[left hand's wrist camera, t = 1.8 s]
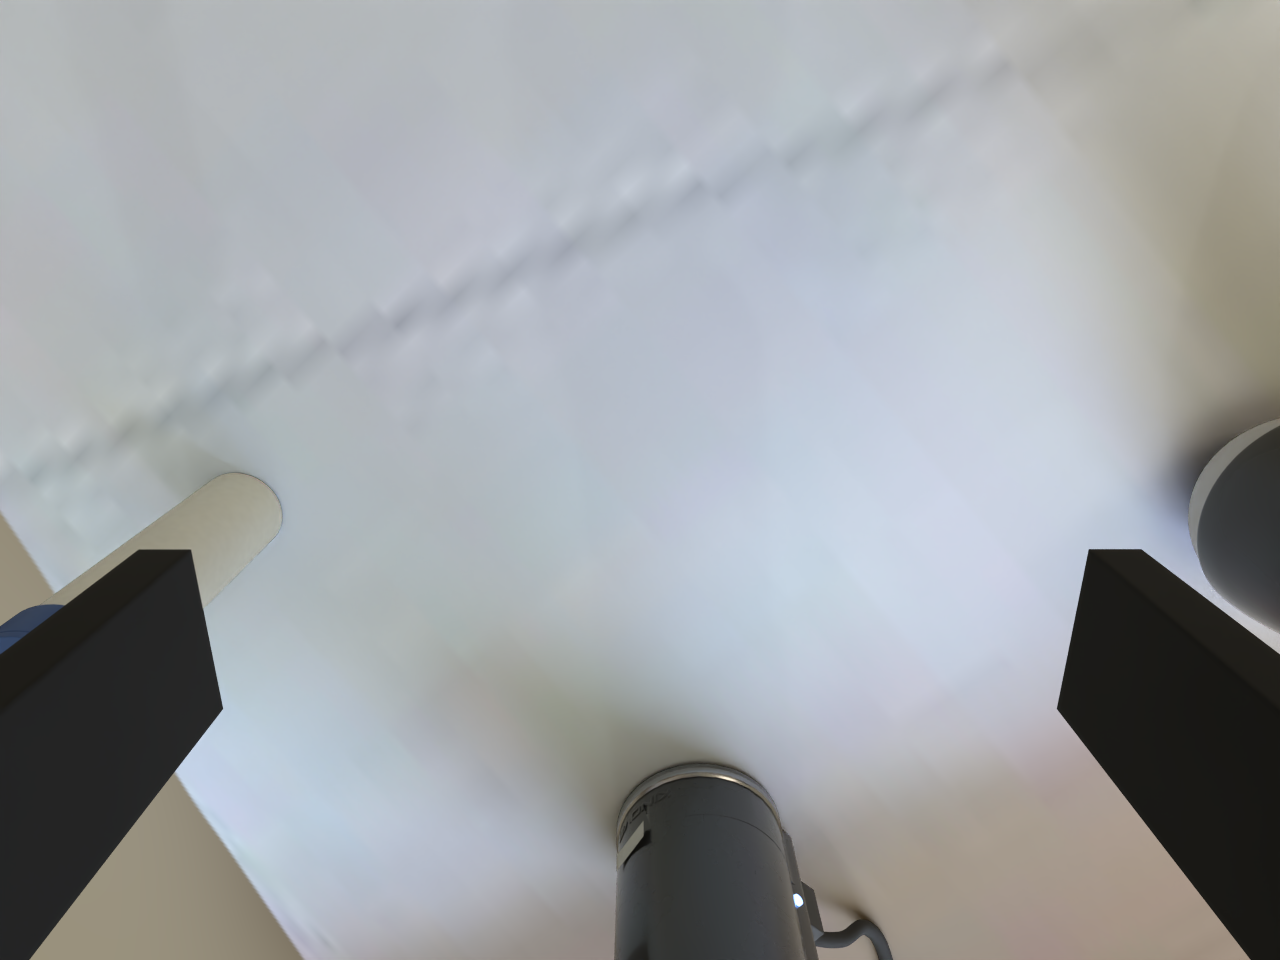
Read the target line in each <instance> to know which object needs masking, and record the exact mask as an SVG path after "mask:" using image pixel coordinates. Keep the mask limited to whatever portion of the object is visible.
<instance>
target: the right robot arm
mask: <svg viewBox="0 0 1280 960" xmlns="http://www.w3.org/2000/svg"><path fill="white" fill-rule="evenodd" d="M616 842H617V852H618V855H617V868H616V871H617V890H616V921H615V952H614V960H819V959H818V955H817V950H816V946H818V947H824V948H843V947H846V946H849V945H850V944H852V943H853V942H854V941H856V940H857V939H858V938H859V937H860V936H862V935H866V936H867V937H869V938H870V939H871V941H872V943H873V944H874V946H875V949H876V951H877V954H878V957H879V960H893V958H892V955H891V952H890V949H889V946H888V943H887V941H886V939H885V937H884V935H883V934H882V933H881V931H880V930H879V929H878V928H877V927H876V926H875V925H874V924H873V923H871V922H870V921H867V920H857V921H855V922H854V923H852V924H851V925H850V926H849V927H847V928H846V929H845V930H843V931H840V932H824V931H823V927H822V922H821V918H820V914H819V910H818V906H817V902H816V897H815V893H814V890H813V889H812V888H810V887H809V886H807V885H806V884H804V883H803V882H802V881H801V880H800V875H799V871H798V866H797V862H796V857H795V853H794V849H793V844H792V840H791V837H790V836H789V835H787V834H786V833H785V832H783V831H782V828H781V823H780V818H779V814H778V811H777V808H776V806H775V803H774V801H773V800H772V798H771V797H770V795H769V794H768V793H767V791H766V790H765V789H764V788H763V787H762V786H761V785H760V784H758V783H757V782H756V781H755V780H753V779H752V778H750V777H749V776H747V775H745V774H743V773H741V772H739V771H736V770H734V769H731V768H728V767H724V766H719V765H713V764H689V765H682V766H677V767H673V768H670V769H667V770H664V771H662V772H659V773H657V774H655V775H653V776H652V777H650V778H648V779H647V780H645V781H644V782H643V783H641V784H640V785H639V786H638V787H637V788H636V789H635V790H634V791H633V792H632V793H631V794H630V796H629V797H628V798H627V800H626V801H625V803H624V805H623V807H622V809H621V811H620V814H619V818H618V823H617V841H616Z"/></svg>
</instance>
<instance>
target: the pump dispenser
mask: <svg viewBox="0 0 1280 960" xmlns="http://www.w3.org/2000/svg"><path fill="white" fill-rule="evenodd" d="M1188 525H1189V532H1190V537H1191V541H1192V544H1193V547H1194V549H1195V552H1196V554H1197V556H1198V558H1199V561H1200V564H1201V567H1202V570H1203V572H1204V574H1205V576H1206V578H1207V580H1208V582H1209V583H1210V584H1211V586H1212V587H1213V588H1214V590H1215V591H1216V592H1217V593H1218V594H1219V595H1220V596H1221V597H1222V598H1223V599H1225V600H1226V601H1227V602H1228V603H1230V604H1231V605H1232V606H1234V607H1235V608H1236V609H1238V610H1239V611H1241V612H1242V613H1244V614H1245V615H1247V616H1248V617H1250V618H1252V619H1253V620H1255V621H1257V622H1258V623H1260V624H1262V625H1264V626H1266V627H1268V628H1270V629H1272V630H1273V631H1275V632H1277V633H1279V634H1280V418H1278V419H1275V420H1272V421H1268V422H1266V423H1263V424H1260V425H1258V426H1256V427H1254V428H1252V429H1250V430H1248V431H1246V432H1244V433H1242V434H1240V435H1239V436H1237V437H1236V438H1234V439H1233V440H1231V441H1230V442H1229V443H1228V444H1226V445H1225V446H1224V447H1223V448H1222V449H1221V450H1220V451H1218V452H1217V453H1216V454H1215V456H1214V457H1213V458H1212V459H1211V460H1210V461H1209V462H1208V464H1207V465H1206V466H1205V468H1204V469H1203V471H1202V473H1201V474H1200V476H1199V478H1198V480H1197V482H1196V484H1195V487H1194V489H1193V492H1192V495H1191V499H1190V504H1189V512H1188Z"/></svg>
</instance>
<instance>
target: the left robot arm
mask: <svg viewBox="0 0 1280 960" xmlns="http://www.w3.org/2000/svg"><path fill="white" fill-rule="evenodd" d="M222 710H223V706H222V701H221V696H220V691H219V686H218V681H217V676H216V671H215V666H214V661H213V656H212V651H211V646H210V641H209V636H208V631H207V626H206V621H205V616H204V611H203V606H202V601H201V596H200V591H199V586H198V581H197V576H196V571H195V566H194V561H193V556H192V551H191V549H139V550H137V551H136V552H135V553H133V554H132V555H131V556H129V557H128V558H127V559H125V560H124V561H123V562H121V563H120V564H119V565H117V566H116V567H115V568H113V569H112V570H111V571H110V572H108V573H107V574H106V575H104V576H103V577H102V578H100V579H99V580H98V581H96V582H95V583H94V584H92V585H91V586H90V587H88V588H87V589H86V590H84V591H83V592H82V593H81V594H79V595H78V596H77V597H75V598H74V599H73V600H71V601H70V602H69V603H67V604H66V605H65V606H63V607H62V608H61V609H59V610H58V611H57V612H55V613H54V614H53V615H52V616H50V617H49V618H48V619H46V620H45V621H44V622H42V623H41V624H40V625H38V626H37V627H36V628H34V629H33V630H32V631H30V632H29V633H28V634H26V635H25V636H24V637H23V638H21V639H20V640H19V641H17V642H16V643H15V644H13V645H12V646H11V647H9V648H8V649H7V650H5V651H4V652H3V653H1V654H0V960H29V959H30V958H31V957H32V956H33V954H34V953H35V952H36V950H37V949H38V948H39V946H40V945H41V944H42V942H43V941H44V940H45V939H46V937H47V936H48V935H49V934H50V932H51V931H52V930H53V928H54V927H55V926H56V924H57V923H58V922H59V921H60V919H61V918H62V917H63V915H64V914H65V913H66V912H67V910H68V909H69V908H70V906H71V905H72V904H73V902H74V901H75V900H76V899H77V897H78V896H79V895H80V893H81V892H82V891H83V889H84V888H85V887H86V886H87V884H88V883H89V882H90V880H91V879H92V878H93V877H94V875H95V874H96V873H97V871H98V870H99V869H100V868H101V866H102V865H103V864H104V862H105V861H106V860H107V858H108V857H109V856H110V855H111V853H112V852H113V851H114V849H115V848H116V847H117V846H118V844H119V843H120V842H121V840H122V839H123V838H124V836H125V835H126V834H127V833H128V831H129V830H130V829H131V827H132V826H133V825H134V823H135V822H136V821H137V820H138V818H139V817H140V816H141V814H142V813H143V812H144V811H145V809H146V808H147V807H148V805H149V804H150V803H151V801H152V800H153V799H154V798H155V796H156V795H157V794H158V792H159V791H160V790H161V789H162V787H163V786H164V785H165V783H166V782H167V781H168V779H169V778H170V777H171V776H172V774H173V773H174V772H175V770H176V769H177V768H178V767H179V765H180V764H181V763H182V761H183V760H184V759H185V757H186V756H187V755H188V754H189V752H190V751H191V750H192V748H193V747H194V746H195V745H196V743H197V742H198V741H199V739H200V738H201V737H202V735H203V734H204V733H205V732H206V730H207V729H208V728H209V726H210V725H211V724H212V723H213V721H214V720H215V719H216V717H217V716H218V715H219V713H220V712H221V711H222ZM1057 710H1058V711H1059V712H1060V713H1061V715H1062V716H1063V717H1064V719H1065V720H1066V721H1067V723H1068V724H1069V725H1070V726H1071V728H1072V729H1073V730H1074V732H1075V733H1076V734H1077V735H1078V737H1079V738H1080V739H1081V741H1082V742H1083V743H1084V745H1085V746H1086V747H1087V748H1088V750H1089V751H1090V752H1091V754H1092V755H1093V756H1094V757H1095V759H1096V760H1097V761H1098V763H1099V764H1100V765H1101V767H1102V768H1103V769H1104V770H1105V772H1106V773H1107V774H1108V776H1109V777H1110V778H1111V779H1112V781H1113V782H1114V783H1115V785H1116V786H1117V787H1118V789H1119V790H1120V791H1121V792H1122V794H1123V795H1124V796H1125V798H1126V799H1127V800H1128V802H1129V803H1130V804H1131V805H1132V807H1133V808H1134V809H1135V811H1136V812H1137V813H1138V814H1139V816H1140V817H1141V818H1142V820H1143V821H1144V822H1145V824H1146V825H1147V826H1148V827H1149V829H1150V830H1151V831H1152V833H1153V834H1154V835H1155V836H1156V838H1157V839H1158V840H1159V842H1160V843H1161V844H1162V846H1163V847H1164V848H1165V849H1166V851H1167V852H1168V853H1169V855H1170V856H1171V857H1172V858H1173V860H1174V861H1175V862H1176V864H1177V865H1178V866H1179V868H1180V869H1181V870H1182V871H1183V873H1184V874H1185V875H1186V877H1187V878H1188V879H1189V880H1190V882H1191V883H1192V884H1193V886H1194V887H1195V888H1196V890H1197V891H1198V892H1199V893H1200V895H1201V896H1202V897H1203V899H1204V900H1205V901H1206V902H1207V904H1208V905H1209V906H1210V908H1211V909H1212V910H1213V912H1214V913H1215V914H1216V915H1217V917H1218V918H1219V919H1220V921H1221V922H1222V923H1223V924H1224V926H1225V927H1226V928H1227V930H1228V931H1229V932H1230V934H1231V935H1232V936H1233V937H1234V939H1235V940H1236V941H1237V943H1238V944H1239V945H1240V946H1241V948H1242V949H1243V950H1244V952H1245V953H1246V954H1247V956H1248V957H1249V958H1250V959H1251V960H1280V654H1279V653H1277V652H1276V651H1275V650H1273V649H1272V648H1271V647H1269V646H1268V645H1267V644H1265V643H1264V642H1263V641H1261V640H1260V639H1259V638H1257V637H1256V636H1255V635H1254V634H1252V633H1251V632H1250V631H1248V630H1247V629H1246V628H1244V627H1243V626H1242V625H1240V624H1239V623H1238V622H1236V621H1235V620H1234V619H1232V618H1231V617H1230V616H1228V615H1227V614H1226V613H1225V612H1223V611H1222V610H1221V609H1219V608H1218V607H1217V606H1215V605H1214V604H1213V603H1211V602H1210V601H1209V600H1207V599H1206V598H1205V597H1203V596H1202V595H1201V594H1199V593H1198V592H1197V591H1196V590H1194V589H1193V588H1192V587H1190V586H1189V585H1188V584H1186V583H1185V582H1184V581H1182V580H1181V579H1180V578H1178V577H1177V576H1176V575H1174V574H1173V573H1172V572H1170V571H1169V570H1168V569H1167V568H1165V567H1164V566H1163V565H1161V564H1160V563H1159V562H1157V561H1156V560H1155V559H1153V558H1152V557H1151V556H1149V555H1148V554H1147V553H1145V552H1144V551H1143V550H1141V549H1089V551H1088V556H1087V561H1086V566H1085V571H1084V576H1083V581H1082V586H1081V591H1080V596H1079V601H1078V606H1077V611H1076V616H1075V621H1074V626H1073V631H1072V636H1071V641H1070V646H1069V651H1068V656H1067V661H1066V666H1065V671H1064V676H1063V681H1062V686H1061V691H1060V696H1059V701H1058V706H1057Z"/></svg>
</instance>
